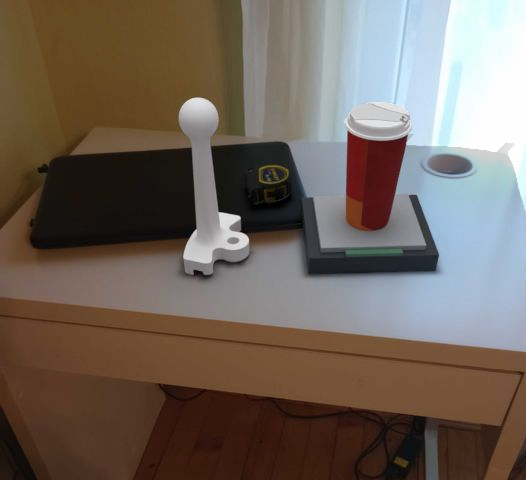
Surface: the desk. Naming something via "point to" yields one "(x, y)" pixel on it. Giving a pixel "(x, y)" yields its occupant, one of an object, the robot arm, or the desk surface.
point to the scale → (366, 238)
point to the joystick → (208, 196)
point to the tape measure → (268, 183)
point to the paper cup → (374, 162)
